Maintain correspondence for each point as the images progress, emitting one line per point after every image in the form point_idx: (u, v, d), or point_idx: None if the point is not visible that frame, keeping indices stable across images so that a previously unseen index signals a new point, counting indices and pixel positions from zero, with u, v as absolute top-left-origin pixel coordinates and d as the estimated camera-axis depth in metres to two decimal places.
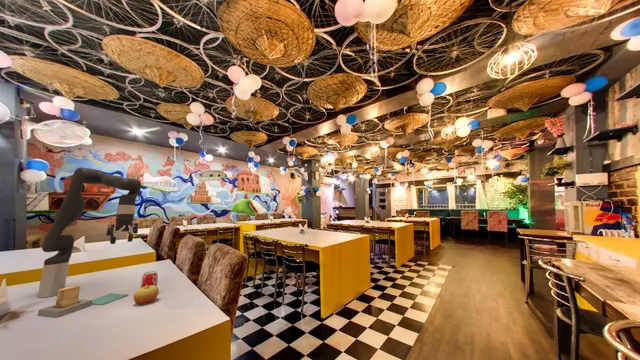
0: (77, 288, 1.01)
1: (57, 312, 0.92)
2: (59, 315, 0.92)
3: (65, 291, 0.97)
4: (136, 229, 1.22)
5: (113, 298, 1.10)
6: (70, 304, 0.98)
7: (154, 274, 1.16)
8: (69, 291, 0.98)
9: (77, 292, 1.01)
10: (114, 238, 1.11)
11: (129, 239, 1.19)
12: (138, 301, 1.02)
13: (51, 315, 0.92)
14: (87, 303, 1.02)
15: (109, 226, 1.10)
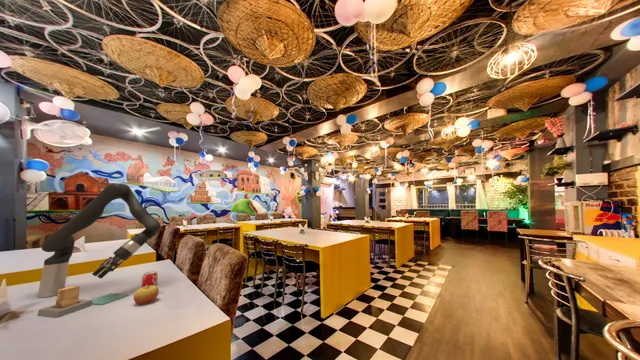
0: (77, 288, 1.01)
1: (57, 312, 0.92)
2: (59, 315, 0.92)
3: (65, 291, 0.97)
4: None
5: (113, 298, 1.10)
6: (70, 304, 0.98)
7: (154, 274, 1.16)
8: (69, 291, 0.98)
9: (77, 292, 1.01)
10: (106, 273, 1.08)
11: (96, 272, 1.11)
12: (138, 301, 1.02)
13: (51, 315, 0.92)
14: (87, 303, 1.02)
15: (119, 261, 1.11)
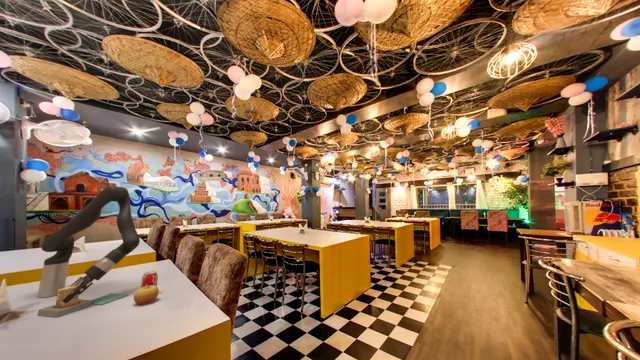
0: None
1: (57, 312, 0.92)
2: (59, 315, 0.92)
3: (65, 291, 0.97)
4: None
5: (113, 298, 1.10)
6: (70, 304, 0.98)
7: (154, 274, 1.16)
8: (69, 291, 0.98)
9: None
10: (73, 297, 0.98)
11: None
12: (138, 301, 1.02)
13: (51, 315, 0.92)
14: (87, 303, 1.02)
15: (88, 283, 1.01)
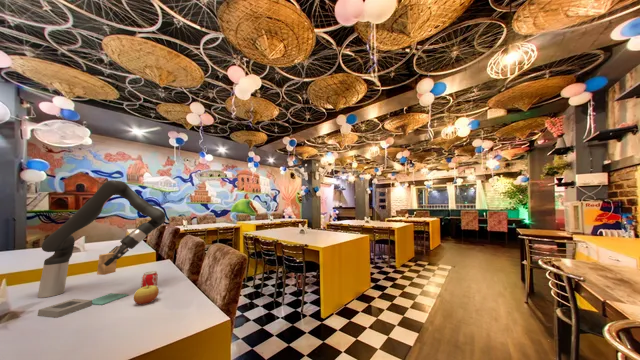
0: None
1: (57, 312, 0.92)
2: (59, 315, 0.92)
3: (106, 255, 1.09)
4: None
5: (113, 298, 1.10)
6: (110, 267, 1.11)
7: (154, 274, 1.16)
8: (109, 256, 1.11)
9: None
10: (112, 261, 1.11)
11: None
12: (138, 301, 1.02)
13: (51, 315, 0.92)
14: (87, 303, 1.02)
15: (124, 250, 1.13)
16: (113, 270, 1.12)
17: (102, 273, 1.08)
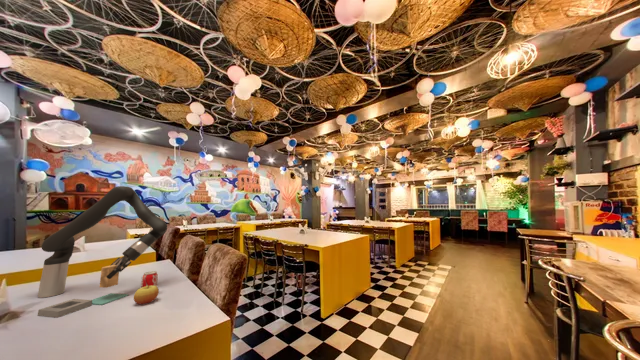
0: None
1: (57, 312, 0.92)
2: (59, 315, 0.92)
3: (108, 268, 1.10)
4: None
5: (113, 298, 1.10)
6: (112, 280, 1.11)
7: (154, 274, 1.16)
8: (112, 268, 1.11)
9: None
10: None
11: None
12: (138, 301, 1.02)
13: (51, 315, 0.92)
14: (87, 303, 1.02)
15: (127, 262, 1.13)
16: (115, 282, 1.12)
17: (104, 286, 1.09)
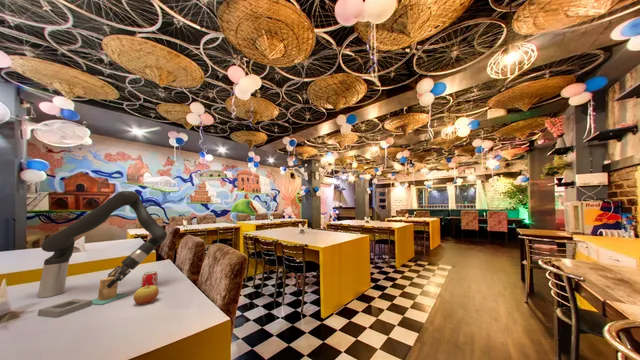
0: None
1: (57, 312, 0.92)
2: (59, 315, 0.92)
3: (106, 281, 1.09)
4: None
5: (113, 298, 1.10)
6: (111, 292, 1.10)
7: (154, 274, 1.16)
8: (110, 281, 1.10)
9: (116, 282, 1.13)
10: None
11: None
12: (138, 301, 1.02)
13: (51, 315, 0.92)
14: (87, 303, 1.02)
15: (127, 271, 1.13)
16: (114, 295, 1.11)
17: (103, 299, 1.08)
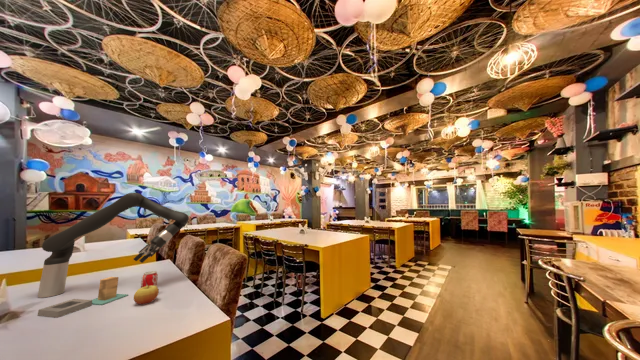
0: (116, 278, 1.13)
1: (57, 312, 0.92)
2: (59, 315, 0.92)
3: (106, 281, 1.09)
4: None
5: (113, 298, 1.10)
6: (111, 292, 1.10)
7: (154, 274, 1.16)
8: (110, 281, 1.10)
9: (116, 282, 1.13)
10: (146, 258, 1.23)
11: (137, 258, 1.25)
12: (138, 301, 1.02)
13: (51, 315, 0.92)
14: (87, 303, 1.02)
15: (156, 248, 1.26)
16: (114, 295, 1.11)
17: (103, 299, 1.08)
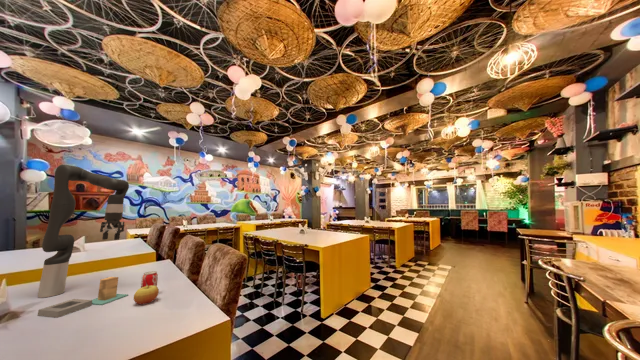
0: (116, 278, 1.13)
1: (57, 312, 0.92)
2: (59, 315, 0.92)
3: (106, 281, 1.09)
4: None
5: (113, 298, 1.10)
6: (111, 292, 1.10)
7: (154, 274, 1.16)
8: (110, 281, 1.10)
9: (116, 282, 1.13)
10: None
11: (105, 237, 1.23)
12: (138, 301, 1.02)
13: (51, 315, 0.92)
14: (87, 303, 1.02)
15: (121, 223, 1.22)
16: (114, 295, 1.11)
17: (103, 299, 1.08)
